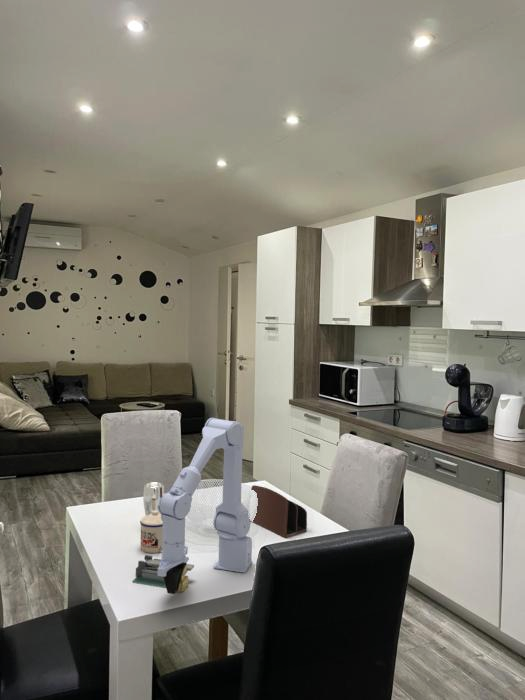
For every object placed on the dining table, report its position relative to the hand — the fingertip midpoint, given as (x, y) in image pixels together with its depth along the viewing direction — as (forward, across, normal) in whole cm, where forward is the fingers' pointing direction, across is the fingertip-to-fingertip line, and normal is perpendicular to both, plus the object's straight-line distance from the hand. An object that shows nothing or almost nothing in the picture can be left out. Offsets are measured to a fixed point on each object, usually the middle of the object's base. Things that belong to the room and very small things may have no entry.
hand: (172, 591), depth 143 cm
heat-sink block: (+1, +10, +7) cm, 12 cm away
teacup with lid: (+2, +26, +16) cm, 31 cm away
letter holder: (+2, +57, -14) cm, 59 cm away
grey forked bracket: (+1, +10, +12) cm, 16 cm away
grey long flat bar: (-2, +9, +6) cm, 11 cm away
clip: (+1, +5, 0) cm, 5 cm away
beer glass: (+2, +42, +26) cm, 49 cm away
